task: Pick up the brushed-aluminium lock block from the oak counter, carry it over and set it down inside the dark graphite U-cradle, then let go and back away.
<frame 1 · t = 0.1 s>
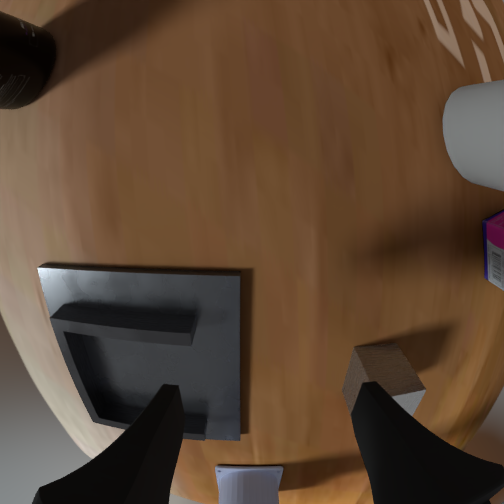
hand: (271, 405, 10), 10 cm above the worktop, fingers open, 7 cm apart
supplement bottle: (29, 69, 14), on the worktop
lock block: (368, 367, 23), on the worktop
cradle: (145, 366, 22), on the worktop
supplement box: (501, 238, 19), on the worktop
can: (469, 134, 16), on the worktop
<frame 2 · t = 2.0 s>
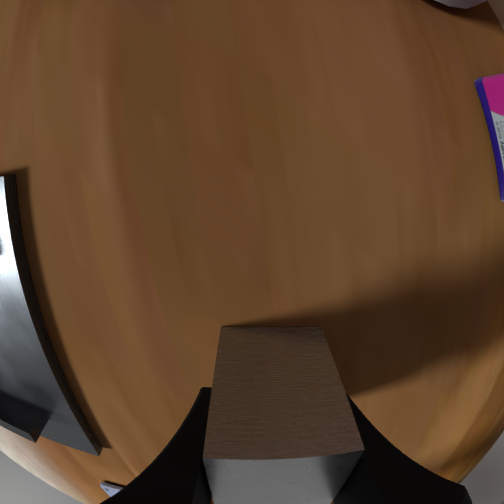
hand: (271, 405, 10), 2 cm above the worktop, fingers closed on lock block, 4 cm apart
lock block: (268, 373, 12), on the worktop, touching gripper
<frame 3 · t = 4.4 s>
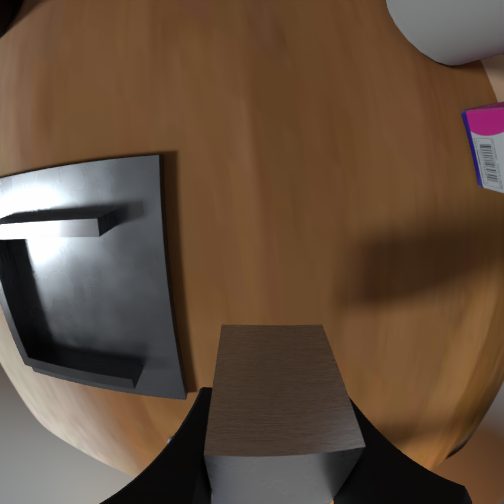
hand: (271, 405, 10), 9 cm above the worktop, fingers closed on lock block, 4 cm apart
supplement bottle: (2, 14, 10), on the worktop
lock block: (269, 371, 12), point 7 cm above the worktop, touching gripper
cradle: (72, 291, 19), on the worktop
supplement box: (490, 141, 15), on the worktop
can: (425, 22, 12), on the worktop
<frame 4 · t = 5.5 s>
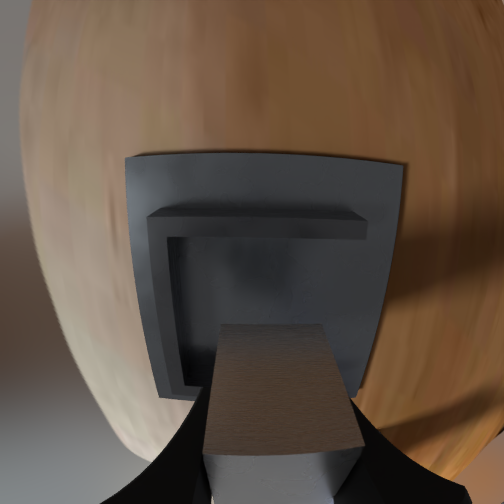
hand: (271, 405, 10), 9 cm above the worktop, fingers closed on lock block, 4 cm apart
lock block: (268, 370, 12), point 7 cm above the worktop, touching gripper
cradle: (262, 300, 19), on the worktop
when the fingers open (4 cm above the worktop, at t = 6.7 s): lock block drops 1 cm, resting on cradle.
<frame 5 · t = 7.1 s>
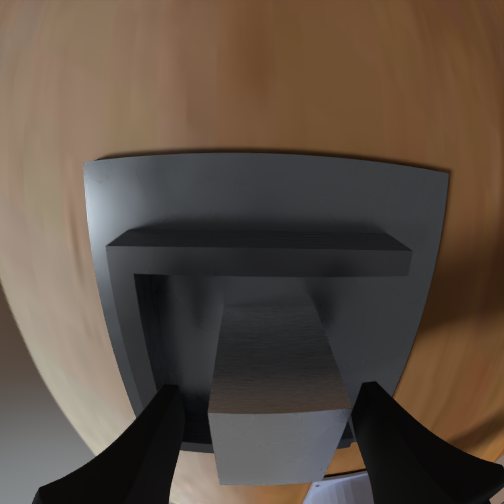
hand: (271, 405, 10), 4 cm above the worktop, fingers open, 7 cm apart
lock block: (267, 351, 14), point 1 cm above the worktop, touching cradle
cradle: (266, 343, 14), on the worktop
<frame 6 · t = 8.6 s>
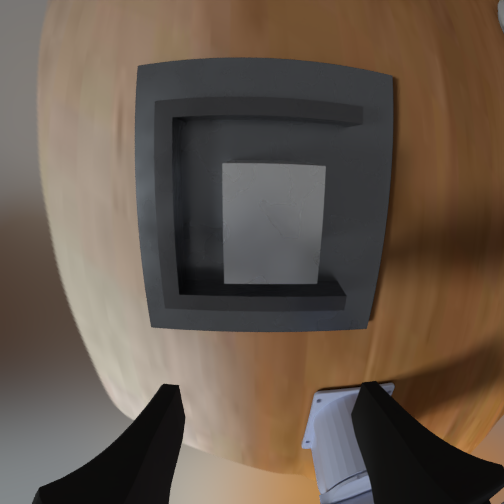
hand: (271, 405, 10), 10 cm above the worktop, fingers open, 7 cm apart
lock block: (265, 201, 17), point 1 cm above the worktop, touching cradle
cradle: (264, 201, 18), on the worktop
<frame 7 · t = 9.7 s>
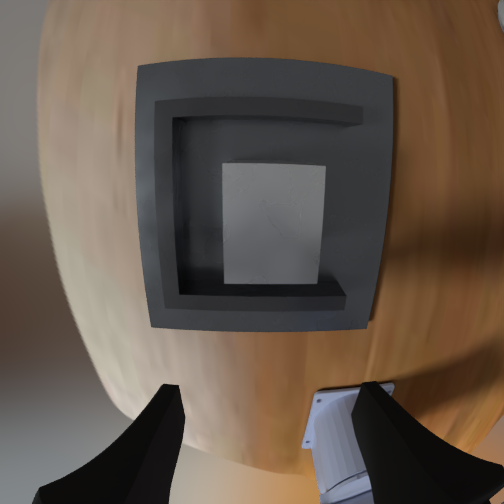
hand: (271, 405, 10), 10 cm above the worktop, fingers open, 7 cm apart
lock block: (265, 201, 17), point 1 cm above the worktop, touching cradle
cradle: (264, 201, 18), on the worktop
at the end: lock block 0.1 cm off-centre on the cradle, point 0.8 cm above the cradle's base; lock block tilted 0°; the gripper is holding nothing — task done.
